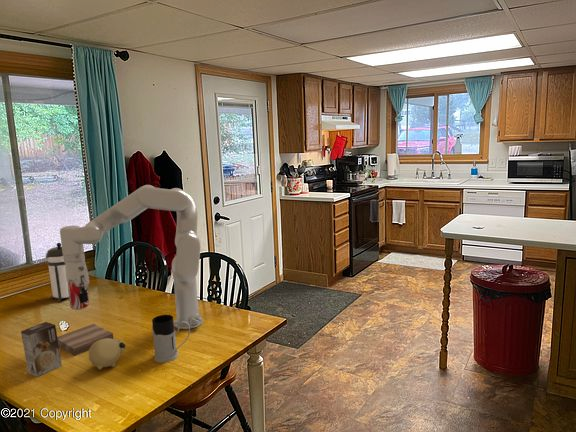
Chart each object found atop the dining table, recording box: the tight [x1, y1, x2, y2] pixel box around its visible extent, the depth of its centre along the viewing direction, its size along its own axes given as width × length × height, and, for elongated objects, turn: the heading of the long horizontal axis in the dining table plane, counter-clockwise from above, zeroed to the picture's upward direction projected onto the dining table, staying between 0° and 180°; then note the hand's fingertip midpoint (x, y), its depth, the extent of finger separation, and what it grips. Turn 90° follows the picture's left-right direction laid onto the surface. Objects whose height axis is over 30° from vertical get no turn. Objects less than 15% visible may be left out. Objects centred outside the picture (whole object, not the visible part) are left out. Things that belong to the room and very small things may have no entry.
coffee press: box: [44, 242, 87, 303], centre depth 226 cm, size 17×16×30 cm
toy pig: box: [88, 337, 126, 370], centre depth 153 cm, size 10×12×11 cm
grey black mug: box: [151, 314, 191, 363], centre depth 158 cm, size 9×14×15 cm, turn 88°
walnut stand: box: [57, 323, 115, 357], centre depth 173 cm, size 16×16×3 cm
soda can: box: [68, 281, 90, 311], centre depth 170 cm, size 7×7×12 cm
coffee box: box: [20, 321, 62, 378], centre depth 152 cm, size 9×6×16 cm
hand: (79, 299), depth 170 cm, fingers closed on soda can, 6 cm apart
